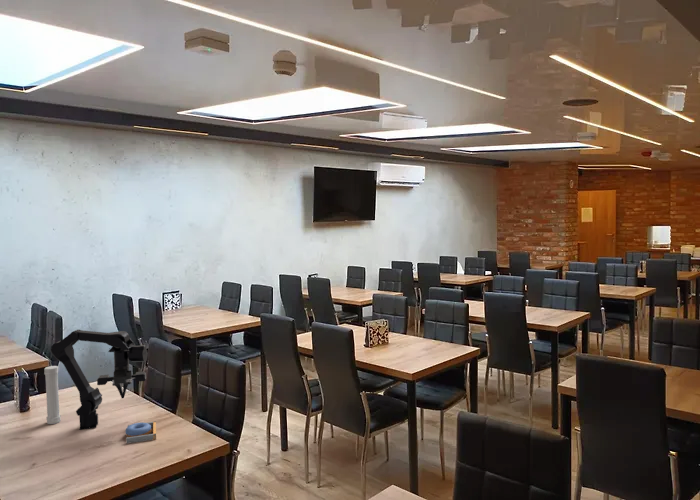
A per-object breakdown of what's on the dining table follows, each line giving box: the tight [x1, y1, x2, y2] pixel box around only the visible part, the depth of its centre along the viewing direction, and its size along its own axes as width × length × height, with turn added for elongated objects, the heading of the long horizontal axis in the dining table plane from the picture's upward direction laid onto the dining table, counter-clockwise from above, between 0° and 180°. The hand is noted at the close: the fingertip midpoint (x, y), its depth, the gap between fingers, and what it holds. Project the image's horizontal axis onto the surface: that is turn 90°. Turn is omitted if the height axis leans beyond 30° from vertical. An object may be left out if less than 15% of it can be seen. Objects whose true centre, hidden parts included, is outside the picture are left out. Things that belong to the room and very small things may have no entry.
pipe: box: [43, 355, 62, 425], centre depth 236 cm, size 6×6×30 cm
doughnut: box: [124, 422, 152, 438], centre depth 222 cm, size 10×10×5 cm
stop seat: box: [125, 421, 157, 444], centre depth 222 cm, size 11×15×2 cm
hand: (122, 398), depth 231 cm, fingers closed
